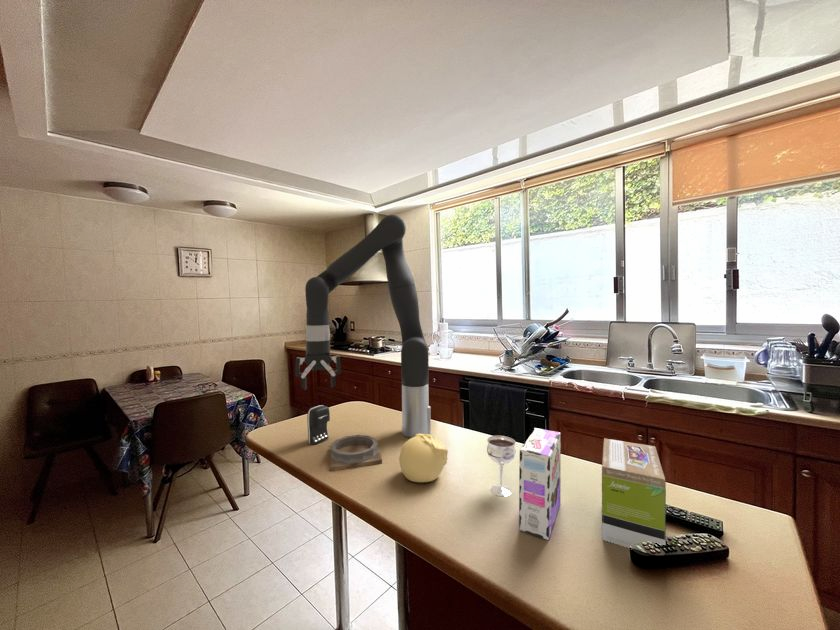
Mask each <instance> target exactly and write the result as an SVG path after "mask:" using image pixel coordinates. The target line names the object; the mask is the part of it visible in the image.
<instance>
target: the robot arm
mask: <svg viewBox="0 0 840 630" xmlns="http://www.w3.org/2000/svg"><path fill="white" fill-rule="evenodd" d="M406 230H407V228H406V223H405V221H404V219H403V218H402V217H401V216H399V215H396V214H388V215H386V216H384V217H383V218H382V219H381V220H380V221H379V223H378V224H377V225H376V226H375V227H374V228H373V229H372V230H371V231H370V232H369V233H368V234H367V235H366V236H365V237H364V238H362V240H360V241H359V242H358V243H357V244H355V245H354V246H353V247H352V248H350V249H348V250H347V251H345V252H344V253H343V254H342V255H340V256H339V257H338V258H336V259H335V260H334V261H332V263H331V264H329V265H328V266H327V268H326V269H325V270H323V271H322V272H321V273H319V274H318V275H317V276H314V277H311V278H309V279H308V280H307V282H306V284H305V288H304V289H305V290H304V291H305V302H306V319H305V320H306V326H305V327H306V330H305V356H304V357H299V356H298V357H296V359H295V368H294V375H295V377H296V378H300V379H301V382H300V383H301V385H300V386H301V389H303V390H304V391H306V390H307V377H306V376H307V375H308V374H309V373H310V372H311V370H312V371H318V370H319V371H324V370H327V372H328V373H329V374H330V383H331V384H330V387H331V389H334V387H335V386H336V383H337V382H336V376H338V375H341V373H342V368H341V356H340V355H339V354H338V355H336V356H331V328H330V312H329V294H330V293H331V292H332V291H334V290H335V289H336V288H337V287H338V286H339V285H340V284H342V283H343V282H346V281H347V280H348V279H349V278H350V277H352V276H353V275H354V274H355V273H356V272H359V270H360V269H361V268H362V267H363V266H364V265H365V264H367V263H368V261H369V260H371V259H372V258H373V257H374V256H375V255H376V254H377V253H379V252H380V251H381V252H382V255H383V258H384V264H385V271H386V279H387V280H386V281H387V285H388V292H389V296H390V301H391V304H392V308H393V311H394V314H395V315H396V320H397V321H398V324H399V329H400V336H401V345H402V346H401V351H400V367H401V368H400V370H401V372H400V374H401V409H402V410H401V412H402V413H401V414H402V416H401V423H402V425H401V428H402V435H403V436H405V437H407V438H410V439H411V438H413V437H415V435H416V434H431V435H432V433H431V431H432V428H431V425H432V424H431V409H432V407H431V406H430V405H429V396H430V394H429V376H430V375H429V374H430V373H429V365H430V364H429V363H430V361H429V358H430V356H429V347H428V344H427V341H426V338H425V336H424V333H423V329H422V326H421V321H420V320H421V319H420V310H419V309H420V308H419V300H418V293H417V288H416V283H415V280H414V276H413V274H412V271H411V269H410V267H409V265H408V263H407V260H406V257H405V256H406V255H405V250H404V244H403V243H404V242H403V239H404V237H405V235H406ZM332 361H333V362H334V363H335V364H336V370H334V369H333V368H332V367H331V366H330V363H331V362H332ZM303 363H305V364H306V365H307V367H306V368H305V369H304V371H303V372H300V370H301V369H300V368H301V365H303Z"/></svg>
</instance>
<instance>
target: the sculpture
mask: <svg viewBox="0 0 840 630" xmlns="http://www.w3.org/2000/svg"><path fill="white" fill-rule="evenodd" d="M448 453H449V451H448V448H447V447H446V445H444V443H442V442H441V441H440V440H439V439H438V438H437V437H435V436H434V435H433V434H432V433H431V434H416V435H415V437H413V438H411V437H410V438H409V439H407V441H405V443H403V445H402V447H401V449H400V453H399V458H398V459H399V466H400V469H401V472H402V474H403V476H405V478H406V479H407V480H409V481H411V482H415V483H429V482H433V481H435V480H437V478H438V477H440V475H441V473H442V471H443V469H444V467H445V466H446V465H447V463H448V462H447V461H448Z"/></svg>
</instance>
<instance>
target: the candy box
mask: <svg viewBox="0 0 840 630" xmlns="http://www.w3.org/2000/svg"><path fill="white" fill-rule="evenodd" d="M533 429H534V430H533V431H532V433H531V434H530V435H529V436H528V438H527V439H526V441H525V442H524V443H523V445H522V446H521V448H520V449H519V468H518V469H519V475H518V476H519V479H518V480H519V482H518V483H519V485H518V486H519V487H518V488H519V489H518V490H519V493H518V494H519V497H518V498H519V500H518V501H519V502H518V503H519V504H518V508H519V509H518V517H519V518H518V523H519V524H518V530H519V531H522V532H524V533H527V534H530V535H532V536H536V537H538V538H541V539H544V540H546V541H549V540H550V538H551V536H552V531H553V528H554V526H555V522H556V519H557V515H558V512H559V510H560V505H561V464H562V463H561V462H562V461H561V440H562V439H561V435H562V434H561V432H559V431H556V430H555V431H554V430H548V429H544V428H537V427H534V428H533Z"/></svg>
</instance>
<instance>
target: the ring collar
mask: <svg viewBox="0 0 840 630" xmlns="http://www.w3.org/2000/svg"><path fill="white" fill-rule="evenodd" d="M329 461H330V471H340V470H345V469H352V468H353V469H354V468H359V467H366V466H373V465H379V464H383V458H382V456H381V453H380V451H379V444H378V441H377V439H376V438H374V437H373V436H371V435H366V434H365V435H363V434H355V435H346V436H343V437H341V438H338V439H336V440H334V442H332V443H331V444H330V445H329Z"/></svg>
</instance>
